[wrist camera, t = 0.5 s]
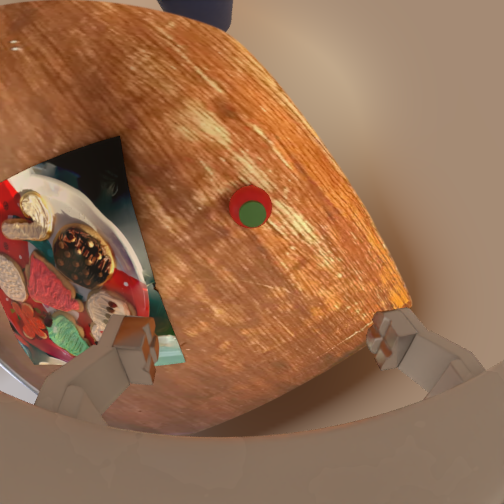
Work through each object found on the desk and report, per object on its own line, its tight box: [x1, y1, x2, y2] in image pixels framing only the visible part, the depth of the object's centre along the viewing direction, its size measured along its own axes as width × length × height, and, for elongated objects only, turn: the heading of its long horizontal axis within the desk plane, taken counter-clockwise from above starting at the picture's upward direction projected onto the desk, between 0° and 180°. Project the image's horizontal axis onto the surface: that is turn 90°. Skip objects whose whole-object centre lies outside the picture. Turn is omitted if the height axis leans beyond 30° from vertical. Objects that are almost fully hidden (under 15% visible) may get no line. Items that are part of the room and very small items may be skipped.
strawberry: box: [229, 184, 272, 228], centre depth 28 cm, size 4×4×5 cm
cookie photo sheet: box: [0, 136, 185, 366], centre depth 31 cm, size 35×35×2 cm
